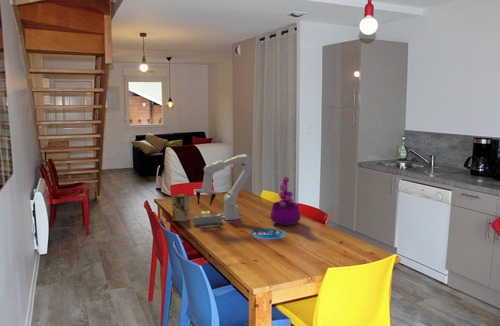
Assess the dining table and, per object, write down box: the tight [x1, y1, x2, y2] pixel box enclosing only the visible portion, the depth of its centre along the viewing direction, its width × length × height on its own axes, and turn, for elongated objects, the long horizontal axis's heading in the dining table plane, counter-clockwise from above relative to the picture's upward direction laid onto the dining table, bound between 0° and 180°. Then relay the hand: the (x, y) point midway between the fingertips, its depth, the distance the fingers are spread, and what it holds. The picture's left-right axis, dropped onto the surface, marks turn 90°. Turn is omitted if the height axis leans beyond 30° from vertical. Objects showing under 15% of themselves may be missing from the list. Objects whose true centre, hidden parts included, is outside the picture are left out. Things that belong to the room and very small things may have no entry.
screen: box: [192, 214, 223, 226], centre depth 261 cm, size 18×1×5 cm, turn 107°
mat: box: [198, 223, 221, 230], centre depth 257 cm, size 12×8×1 cm, turn 107°
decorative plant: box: [269, 176, 301, 226], centre depth 261 cm, size 19×18×30 cm
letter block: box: [200, 210, 211, 216], centre depth 268 cm, size 5×5×6 cm
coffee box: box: [171, 194, 190, 222], centre depth 270 cm, size 9×6×16 cm
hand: (204, 204), depth 267 cm, fingers open, 7 cm apart
